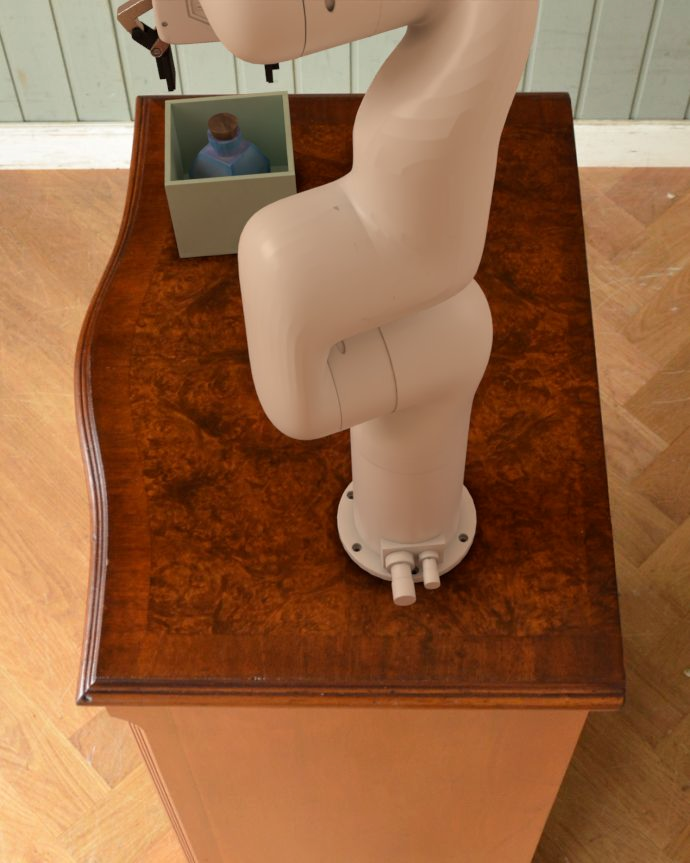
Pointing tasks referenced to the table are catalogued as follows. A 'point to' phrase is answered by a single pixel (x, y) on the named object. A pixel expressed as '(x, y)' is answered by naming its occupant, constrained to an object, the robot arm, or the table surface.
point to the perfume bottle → (228, 152)
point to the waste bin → (233, 195)
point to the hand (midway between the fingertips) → (220, 78)
